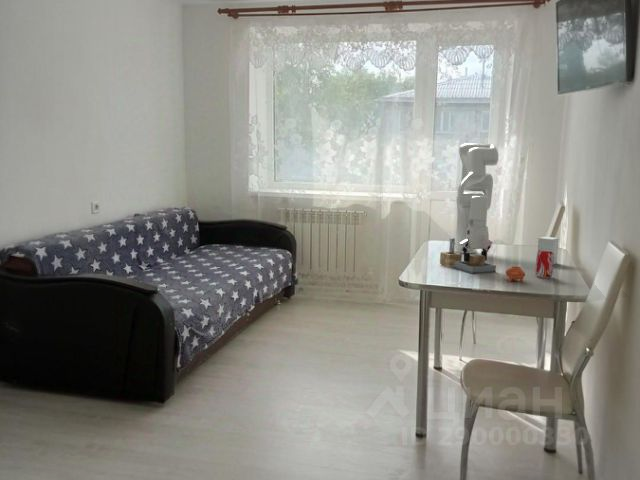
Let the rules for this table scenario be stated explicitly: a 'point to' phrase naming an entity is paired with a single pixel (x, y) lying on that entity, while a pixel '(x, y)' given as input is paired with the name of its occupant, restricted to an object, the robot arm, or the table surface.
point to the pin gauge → (452, 245)
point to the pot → (515, 273)
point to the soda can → (544, 263)
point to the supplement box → (549, 245)
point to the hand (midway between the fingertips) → (475, 260)
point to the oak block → (449, 258)
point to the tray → (474, 268)
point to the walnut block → (476, 260)
